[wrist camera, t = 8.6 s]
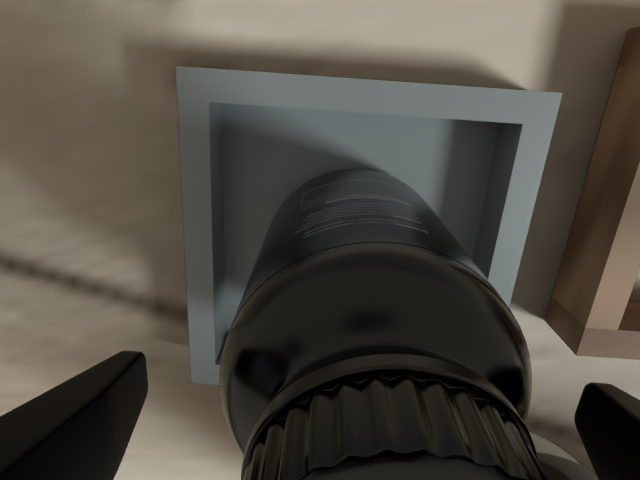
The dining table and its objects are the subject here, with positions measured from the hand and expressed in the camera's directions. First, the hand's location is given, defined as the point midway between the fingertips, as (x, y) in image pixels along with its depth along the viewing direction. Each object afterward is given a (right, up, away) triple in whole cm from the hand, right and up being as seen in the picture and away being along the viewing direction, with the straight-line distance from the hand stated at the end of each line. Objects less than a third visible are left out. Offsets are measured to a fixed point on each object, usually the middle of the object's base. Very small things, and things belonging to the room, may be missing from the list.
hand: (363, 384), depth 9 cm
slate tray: (0, +3, +9) cm, 9 cm away
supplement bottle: (0, +3, +9) cm, 9 cm away
